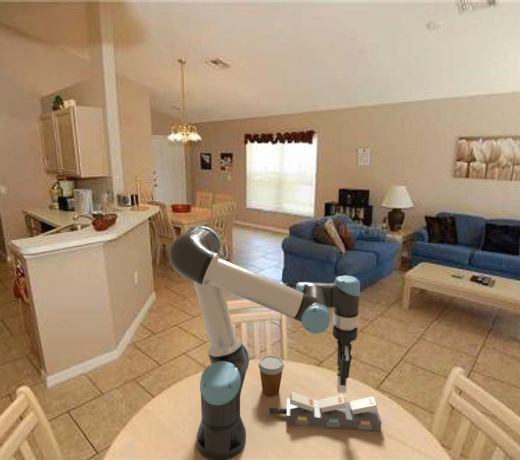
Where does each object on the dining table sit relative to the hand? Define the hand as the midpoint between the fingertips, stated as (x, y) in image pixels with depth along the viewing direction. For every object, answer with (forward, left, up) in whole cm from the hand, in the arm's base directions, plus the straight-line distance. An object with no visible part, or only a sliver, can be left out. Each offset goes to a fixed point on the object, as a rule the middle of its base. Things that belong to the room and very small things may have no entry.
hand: (341, 391), depth 112 cm
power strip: (-6, 0, -11) cm, 12 cm away
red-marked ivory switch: (-13, 0, -5) cm, 14 cm away
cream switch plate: (-3, 0, -5) cm, 6 cm away
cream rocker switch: (+7, 0, -5) cm, 9 cm away
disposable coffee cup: (-24, +12, -11) cm, 29 cm away
